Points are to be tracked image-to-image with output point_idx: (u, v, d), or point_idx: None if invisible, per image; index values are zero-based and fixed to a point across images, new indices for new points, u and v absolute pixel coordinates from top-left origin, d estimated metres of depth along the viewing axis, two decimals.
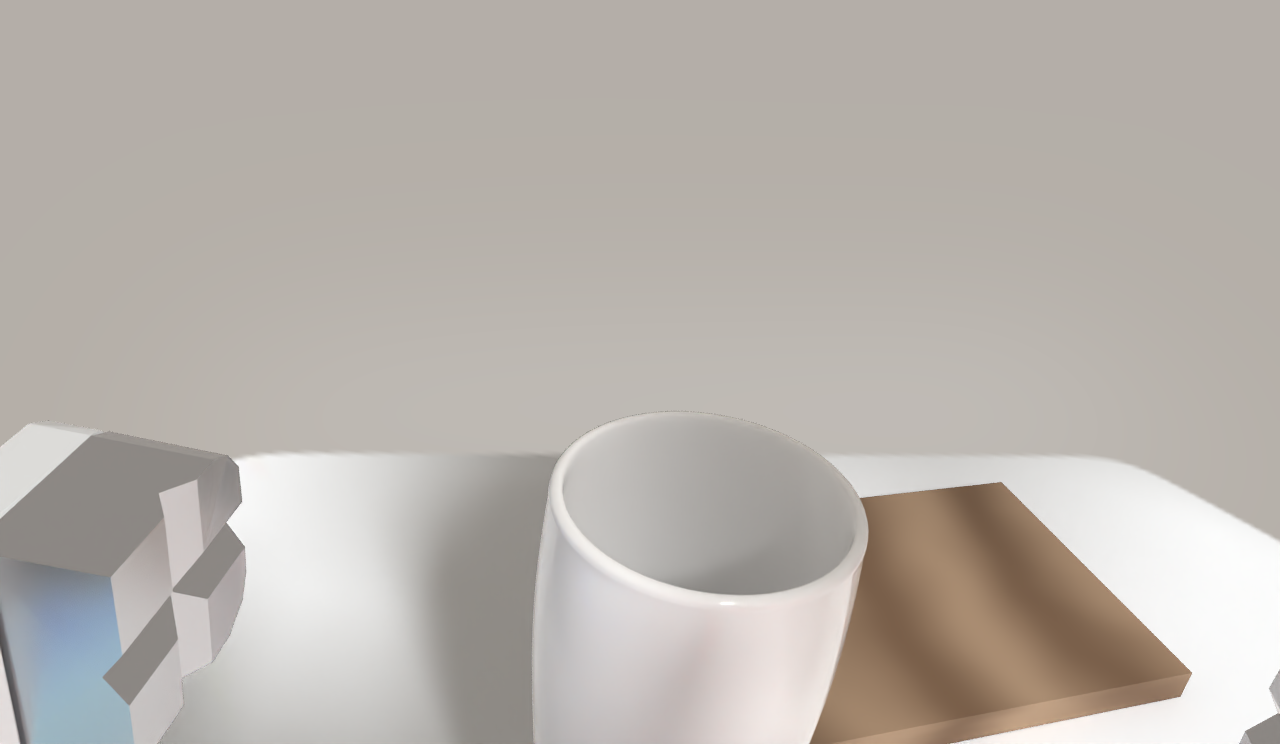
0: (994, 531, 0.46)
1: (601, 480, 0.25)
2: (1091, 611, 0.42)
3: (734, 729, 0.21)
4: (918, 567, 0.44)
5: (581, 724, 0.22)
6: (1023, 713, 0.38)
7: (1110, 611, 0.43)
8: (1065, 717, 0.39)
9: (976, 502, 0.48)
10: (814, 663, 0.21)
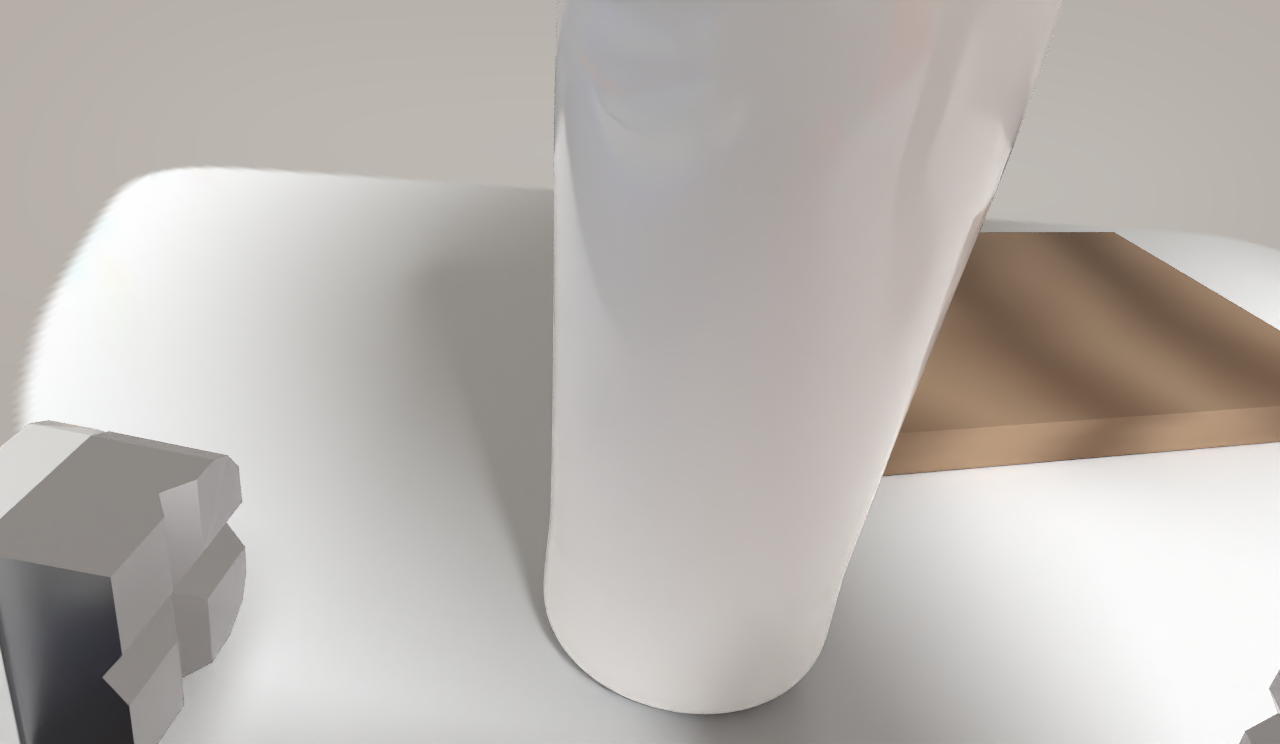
0: (1115, 268, 0.37)
1: None
2: (1251, 339, 0.33)
3: (911, 28, 0.12)
4: (1028, 290, 0.35)
5: (640, 68, 0.13)
6: (1187, 425, 0.29)
7: (1274, 340, 0.34)
8: (1235, 441, 0.30)
9: (1087, 245, 0.39)
10: None
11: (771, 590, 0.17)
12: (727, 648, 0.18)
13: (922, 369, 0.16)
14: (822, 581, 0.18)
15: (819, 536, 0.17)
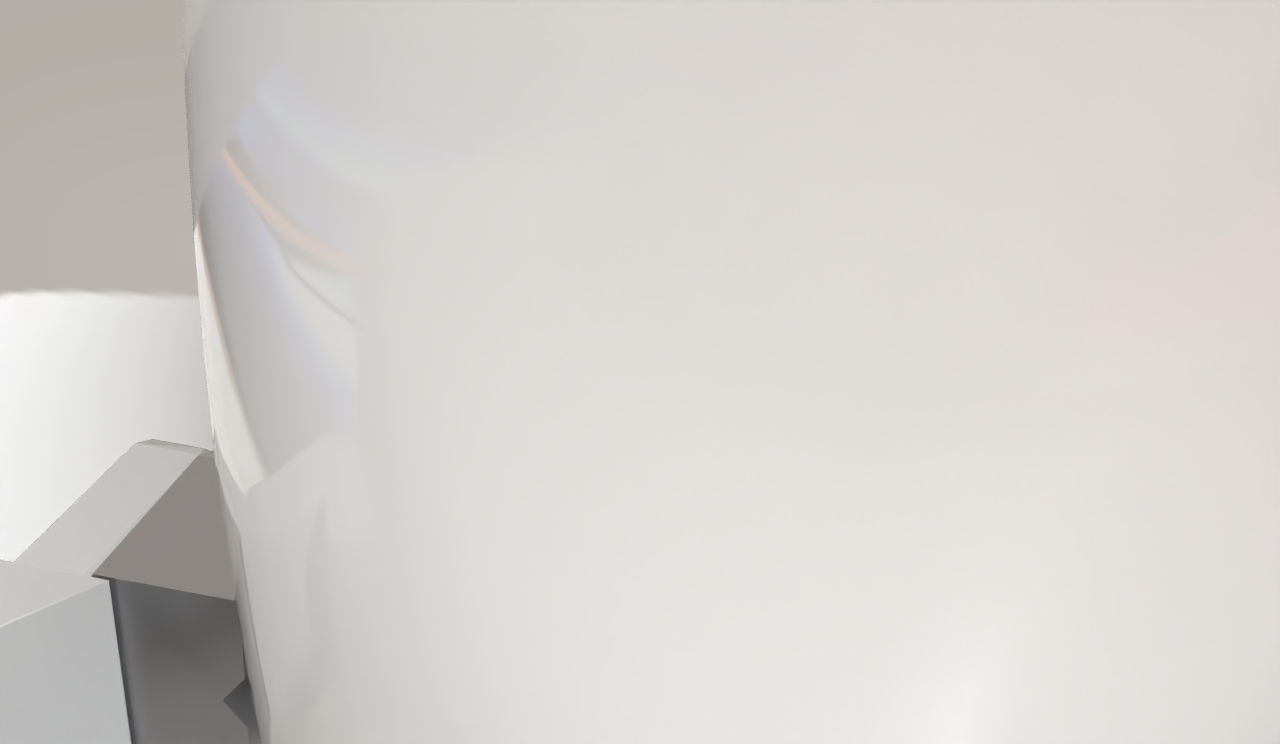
0: None
1: None
2: None
3: (1257, 733, 0.03)
4: None
5: (353, 696, 0.04)
6: None
7: None
8: None
9: None
10: None
11: None
12: None
13: None
14: None
15: None
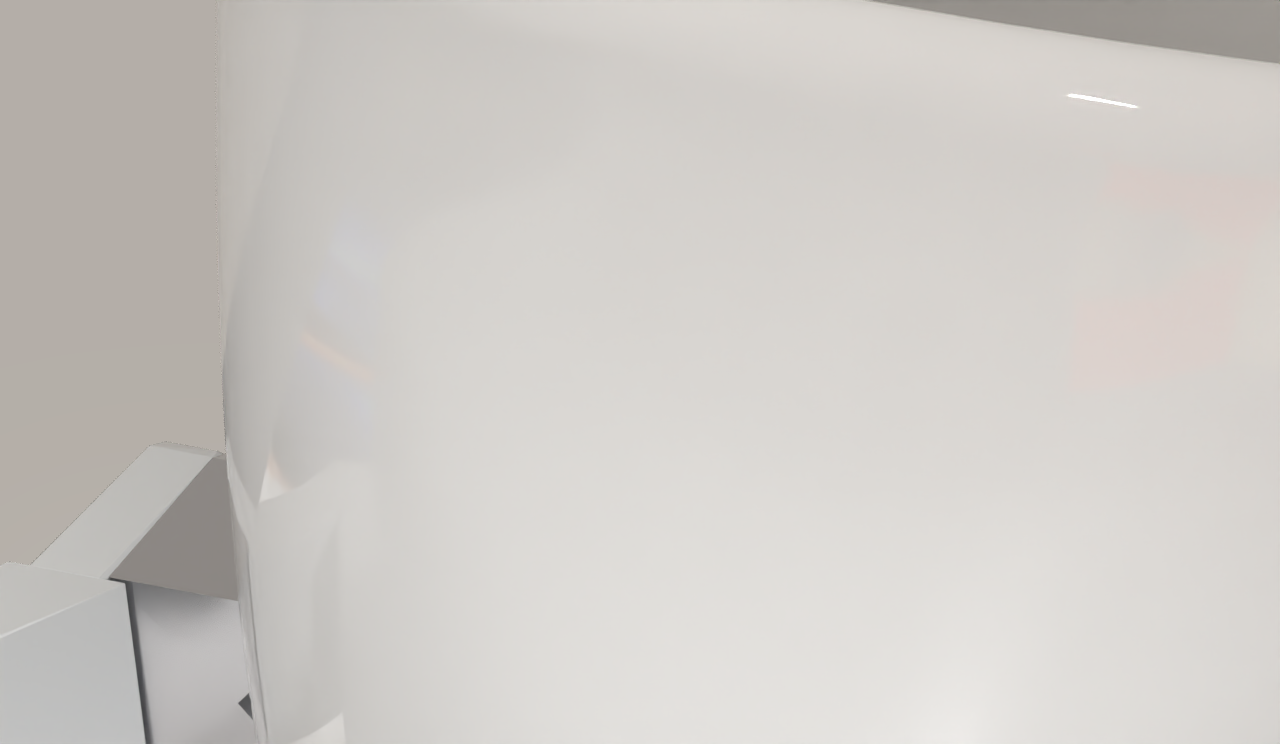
0: None
1: None
2: None
3: None
4: None
5: None
6: None
7: None
8: None
9: None
10: None
11: None
12: None
13: None
14: None
15: None
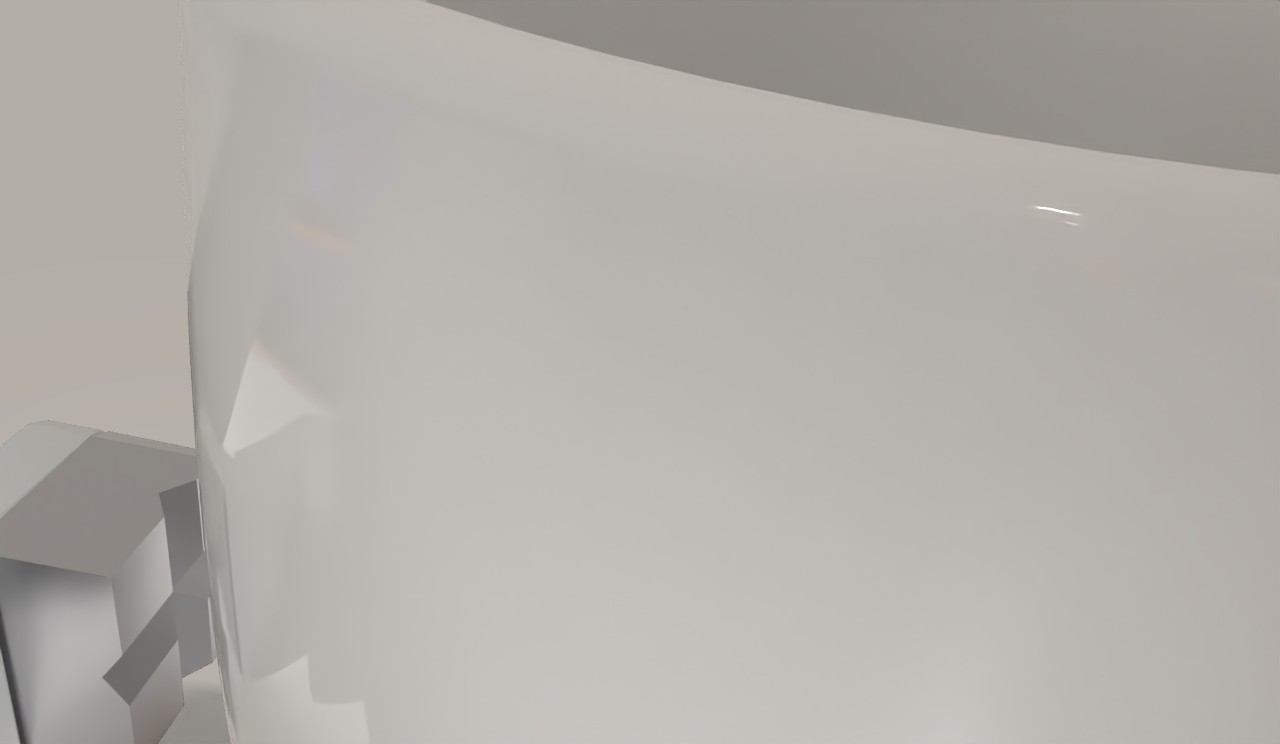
0: None
1: None
2: None
3: None
4: None
5: None
6: None
7: None
8: None
9: None
10: None
11: None
12: None
13: None
14: None
15: None
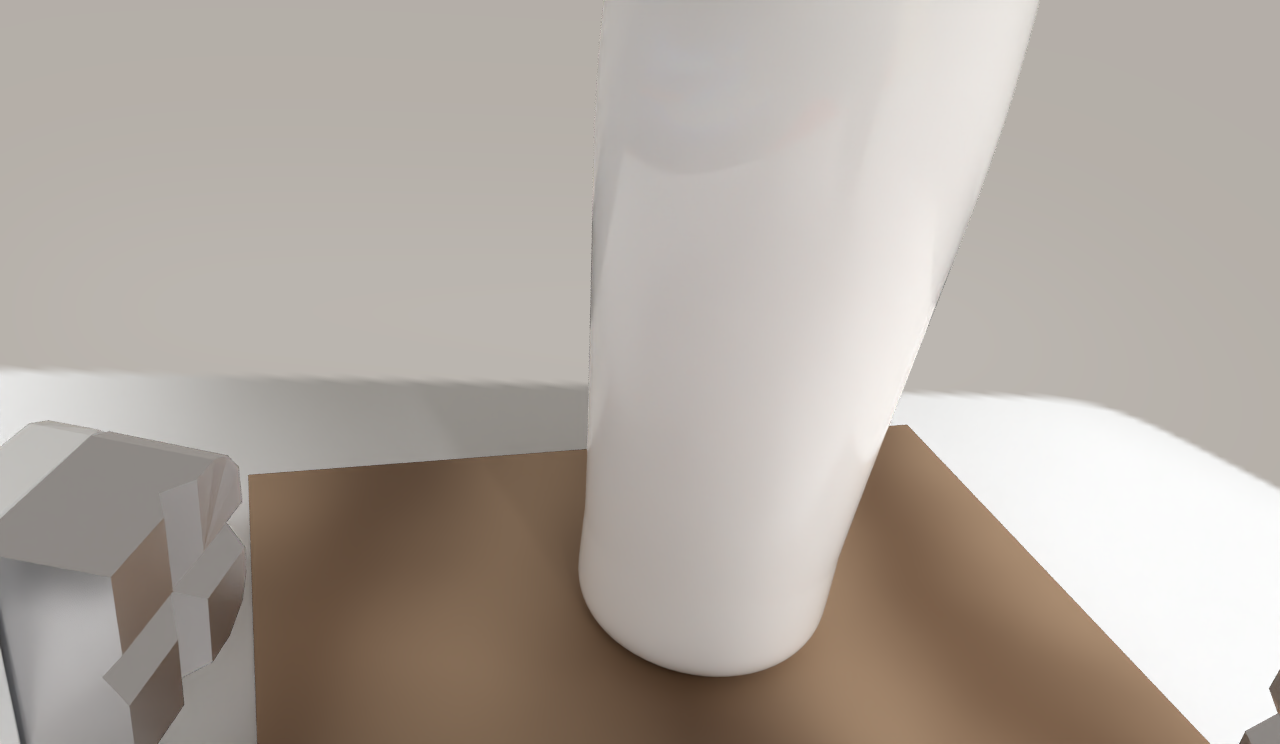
0: (884, 496, 0.28)
1: None
2: (1034, 629, 0.24)
3: (887, 114, 0.15)
4: None
5: (668, 142, 0.16)
6: None
7: (1067, 630, 0.25)
8: None
9: None
10: (997, 32, 0.15)
11: (775, 570, 0.20)
12: (737, 619, 0.21)
13: (903, 383, 0.19)
14: (819, 563, 0.21)
15: (815, 523, 0.20)
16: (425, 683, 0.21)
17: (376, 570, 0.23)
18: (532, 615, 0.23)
